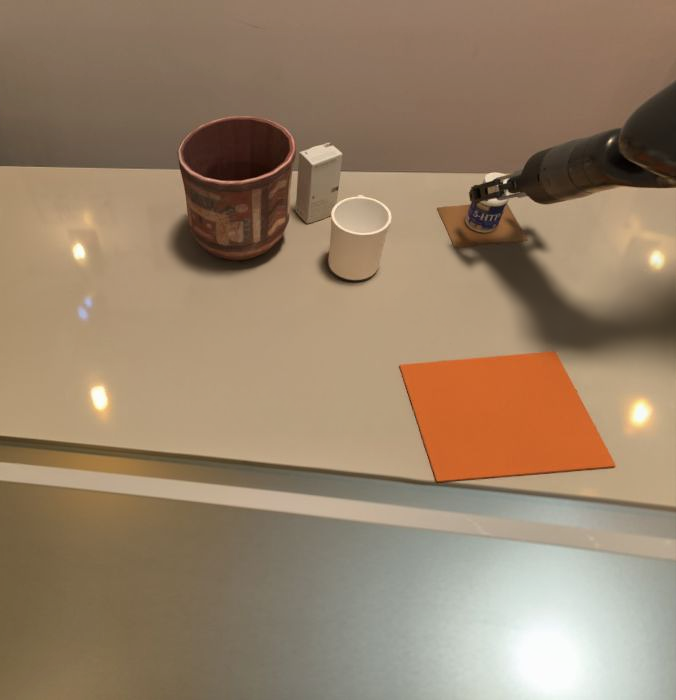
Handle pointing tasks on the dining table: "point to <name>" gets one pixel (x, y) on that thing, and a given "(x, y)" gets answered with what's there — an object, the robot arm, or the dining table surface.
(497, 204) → the pill bottle
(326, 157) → the cosmetic box
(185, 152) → the pottery
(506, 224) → the cork pad
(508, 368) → the towel
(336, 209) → the mug
